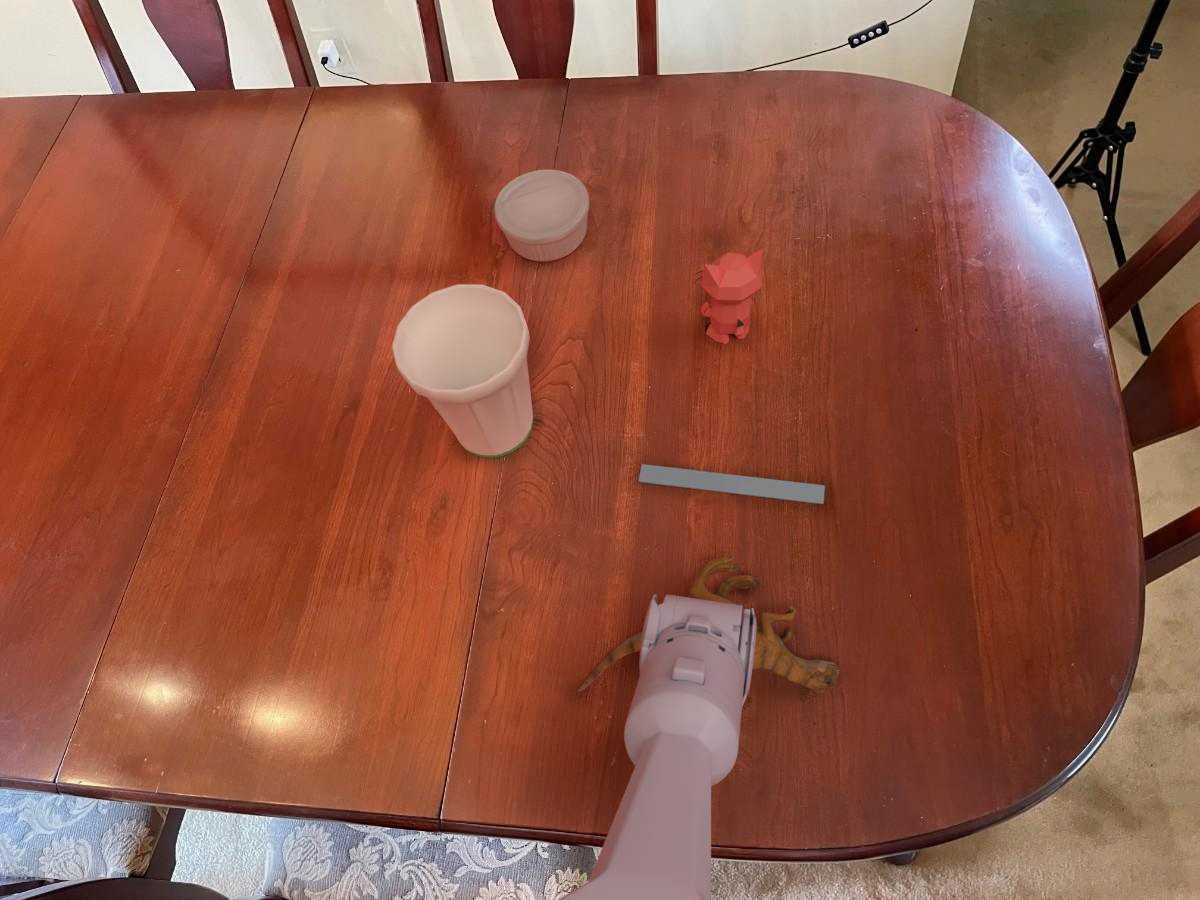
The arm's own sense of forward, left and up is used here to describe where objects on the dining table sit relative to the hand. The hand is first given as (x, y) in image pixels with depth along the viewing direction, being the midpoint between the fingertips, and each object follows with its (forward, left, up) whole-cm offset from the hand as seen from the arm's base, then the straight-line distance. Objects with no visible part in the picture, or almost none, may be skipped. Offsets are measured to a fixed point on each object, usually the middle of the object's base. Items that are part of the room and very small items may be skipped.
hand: (698, 726), depth 70 cm
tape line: (+22, -9, -2) cm, 24 cm away
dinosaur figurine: (+7, -3, -2) cm, 8 cm away
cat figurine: (+40, -14, -2) cm, 43 cm away
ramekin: (+60, +3, -2) cm, 60 cm away
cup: (+35, +13, -2) cm, 38 cm away
